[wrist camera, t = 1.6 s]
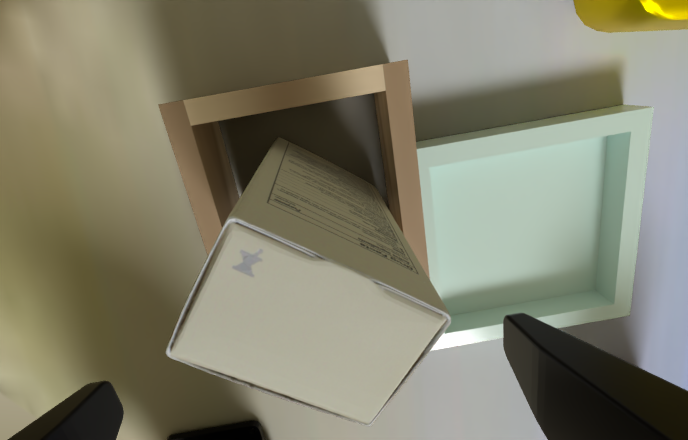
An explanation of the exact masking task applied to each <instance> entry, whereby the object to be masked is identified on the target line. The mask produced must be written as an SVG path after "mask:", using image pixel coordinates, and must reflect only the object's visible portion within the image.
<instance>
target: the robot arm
mask: <svg viewBox="0 0 688 440" xmlns="http://www.w3.org/2000/svg"><path fill="white" fill-rule="evenodd" d="M503 346H504V351H505V354H506V357H507V359H508V361H509V363H510V365H511V367H512V369H513V372H514V374H515V376H516V378H517V380H518V382H519V384H520V387H521V389H522V391H523V393H524V395H525V397H526V399H527V402H528V404H529V406H530V408H531V410H532V412H533V414H534V416H535V418H536V420H537V422H538V424H539V425H540V427H541V429H542V431H543V432H544V434H545V436H546V437H547V439H548V440H688V391H687V390H685V389H683V388H681V387H678V386H676V385H674V384H672V383H670V382H668V381H666V380H664V379H662V378H660V377H658V376H655V375H653V374H651V373H649V372H647V371H645V370H643V369H641V368H639V367H637V366H634V365H632V364H630V363H628V362H626V361H624V360H622V359H620V358H618V357H616V356H614V355H611V354H609V353H607V352H605V351H603V350H601V349H599V348H597V347H595V346H593V345H591V344H588V343H586V342H584V341H582V340H580V339H578V338H576V337H574V336H572V335H570V334H567V333H565V332H563V331H561V330H559V329H557V328H555V327H553V326H551V325H549V324H547V323H544V322H542V321H540V320H538V319H536V318H534V317H532V316H530V315H528V314H525V313H514V314H508V315H506V316H505V317H504V319H503ZM123 414H124V411H123V406H122V404H121V402H120V400H119V398H118V396H117V394H116V392H115V390H114V387H113V385H112V384H111V383H110V382H109V381H100V382H93V383H89V384H87V385H85V386H84V387H82V388H81V389H80V390H78V391H77V392H75V393H74V394H72V395H71V396H70V397H68V398H67V399H65V400H64V401H62V402H61V403H59V404H58V405H57V406H55V407H54V408H52V409H51V410H49V411H48V412H47V413H45V414H44V415H42V416H41V417H39V418H38V419H37V420H35V421H34V422H32V423H31V424H29V425H28V426H26V427H25V428H24V429H22V430H21V431H19V432H18V433H16V434H15V435H14V436H12V437H11V438H9V439H8V440H116V438H117V435H118V432H119V429H120V426H121V423H122V420H123ZM167 440H265V437H264V434H263V431H262V428H261V425H260V424H259V423H258V422H256V421H249V422H243V423H237V424H231V425H226V426H220V427H214V428H208V429H203V430H197V431H191V432H185V433H180V434H174V435H170V436H169V437H168V438H167Z"/></svg>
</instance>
